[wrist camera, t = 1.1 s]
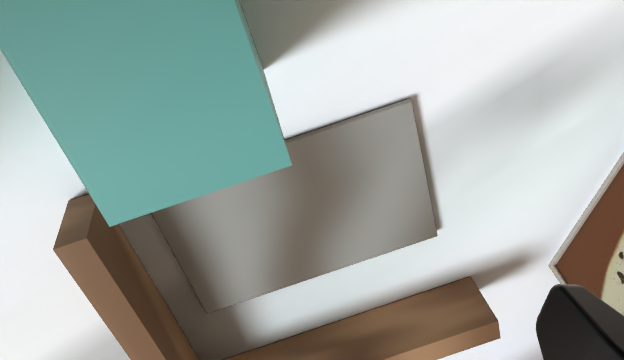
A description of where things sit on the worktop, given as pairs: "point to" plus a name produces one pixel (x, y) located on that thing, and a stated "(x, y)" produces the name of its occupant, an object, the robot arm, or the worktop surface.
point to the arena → (288, 250)
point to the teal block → (147, 96)
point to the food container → (597, 244)
